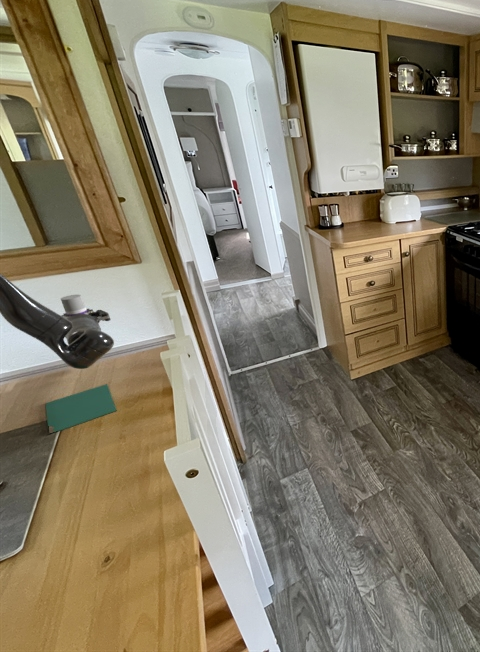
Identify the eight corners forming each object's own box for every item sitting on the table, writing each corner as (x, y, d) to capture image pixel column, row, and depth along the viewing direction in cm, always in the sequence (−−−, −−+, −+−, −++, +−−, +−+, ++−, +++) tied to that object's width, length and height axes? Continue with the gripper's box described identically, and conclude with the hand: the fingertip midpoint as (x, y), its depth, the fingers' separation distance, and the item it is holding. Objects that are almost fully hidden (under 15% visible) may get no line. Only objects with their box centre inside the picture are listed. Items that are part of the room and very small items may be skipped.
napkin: (116, 410, 104) (116, 410, 104) (49, 434, 95) (48, 433, 95) (107, 384, 115) (106, 383, 115) (45, 403, 106) (45, 403, 106)
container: (94, 341, 121) (78, 298, 116) (75, 344, 119) (57, 300, 114) (99, 335, 125) (83, 293, 120) (80, 338, 123) (63, 295, 118)
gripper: (110, 311, 114) (103, 297, 124) (41, 325, 104) (40, 309, 114) (118, 333, 116) (110, 318, 127) (52, 349, 107) (49, 331, 117)
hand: (77, 313), depth 121 cm, fingers closed on container, 4 cm apart
